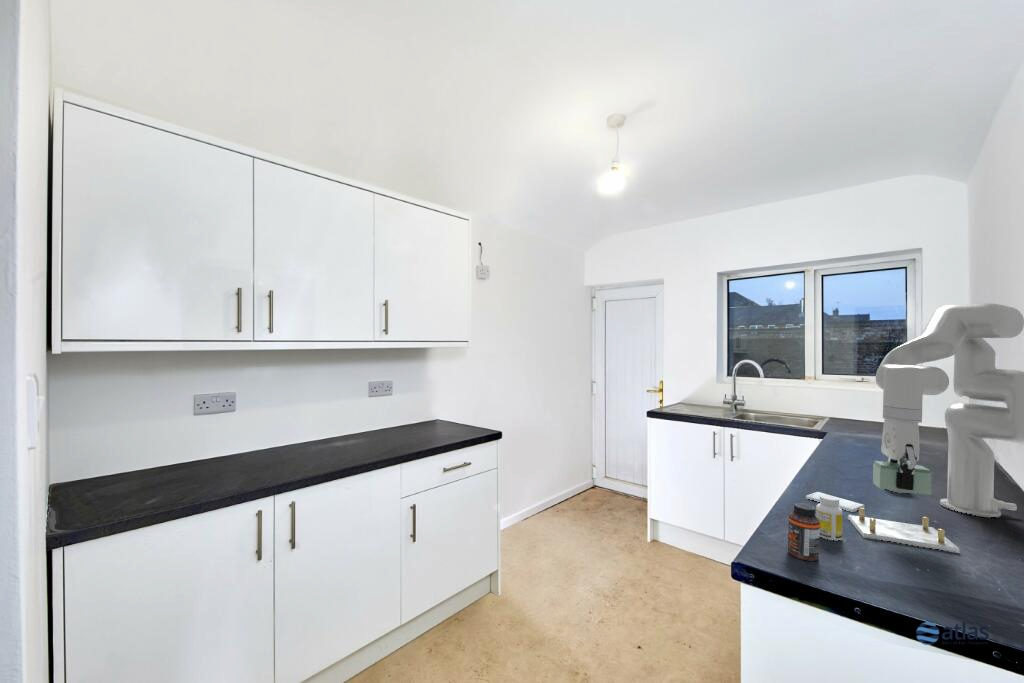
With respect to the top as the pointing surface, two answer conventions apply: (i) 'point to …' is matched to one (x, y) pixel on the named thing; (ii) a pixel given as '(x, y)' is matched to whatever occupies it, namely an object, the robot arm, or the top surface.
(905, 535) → the plate
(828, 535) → the supplement bottle
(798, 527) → the supplement bottle
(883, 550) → the top surface
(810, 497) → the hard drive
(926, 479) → the block
